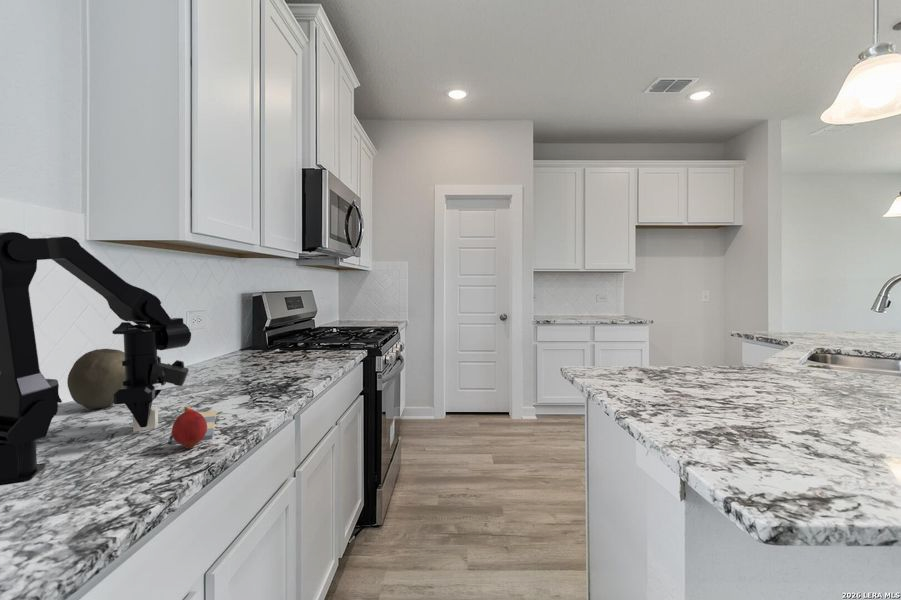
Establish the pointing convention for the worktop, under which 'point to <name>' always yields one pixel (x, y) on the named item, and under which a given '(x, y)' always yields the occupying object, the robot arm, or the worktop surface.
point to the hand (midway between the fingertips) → (143, 426)
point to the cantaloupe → (97, 378)
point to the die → (151, 422)
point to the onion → (189, 428)
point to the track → (210, 420)
